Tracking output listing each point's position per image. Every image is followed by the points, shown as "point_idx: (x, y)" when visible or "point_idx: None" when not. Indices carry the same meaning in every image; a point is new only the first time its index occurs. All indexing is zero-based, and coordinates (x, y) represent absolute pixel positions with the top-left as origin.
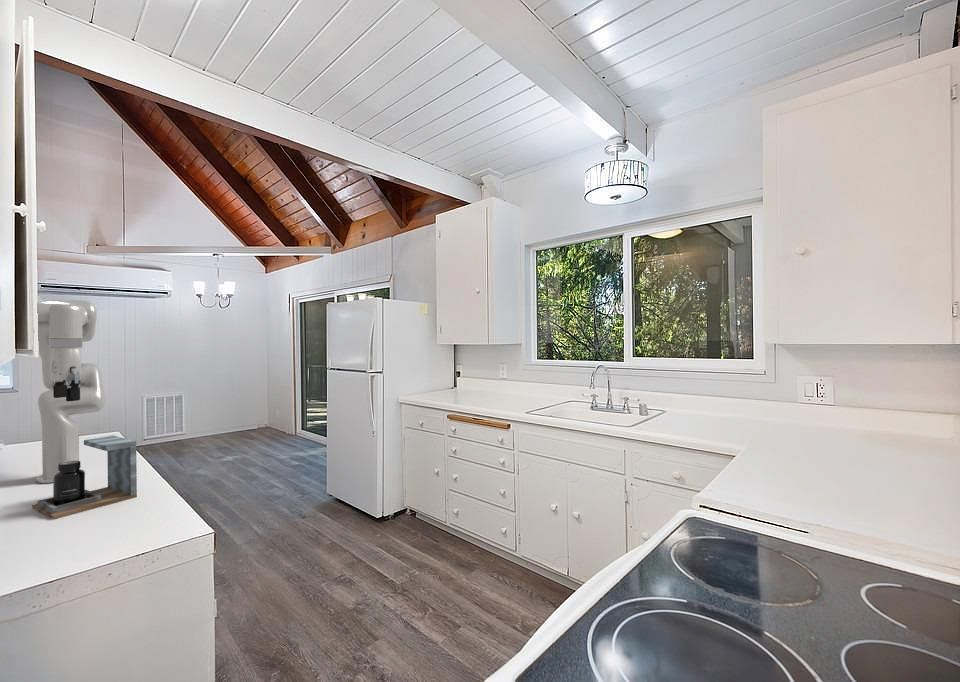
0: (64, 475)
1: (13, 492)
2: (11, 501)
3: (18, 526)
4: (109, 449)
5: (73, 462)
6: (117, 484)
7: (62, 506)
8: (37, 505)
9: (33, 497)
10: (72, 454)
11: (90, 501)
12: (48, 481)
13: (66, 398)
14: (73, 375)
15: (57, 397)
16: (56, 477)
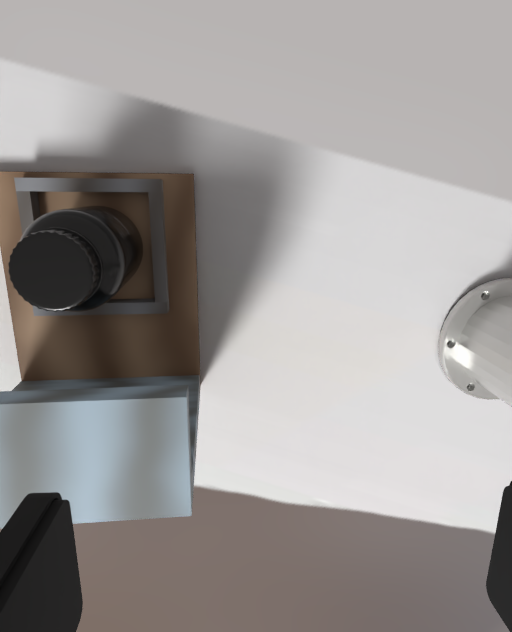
0: (25, 235)
1: (459, 200)
2: (348, 164)
3: (12, 88)
4: None
5: (35, 283)
6: (120, 386)
7: (19, 206)
8: (171, 182)
9: (331, 217)
10: (509, 393)
11: None
12: (467, 296)
13: (15, 520)
14: None
15: (502, 505)
16: (50, 213)
